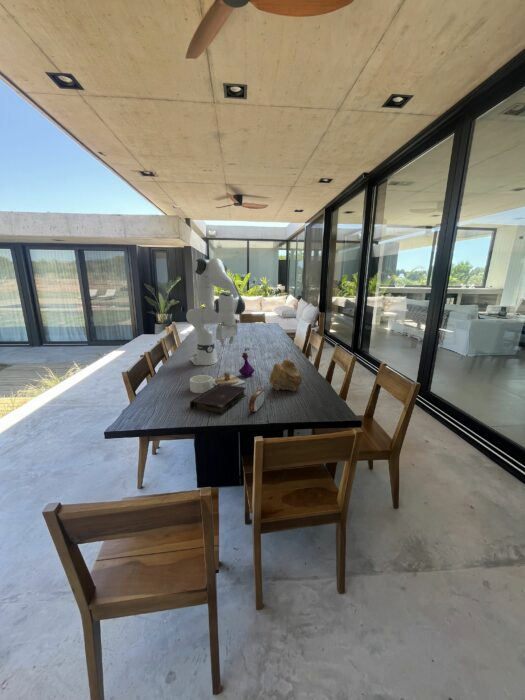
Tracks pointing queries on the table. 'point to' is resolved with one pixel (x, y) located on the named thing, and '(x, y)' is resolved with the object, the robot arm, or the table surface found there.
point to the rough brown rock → (285, 376)
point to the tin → (257, 400)
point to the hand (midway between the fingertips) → (227, 345)
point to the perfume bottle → (246, 366)
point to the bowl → (201, 383)
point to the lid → (227, 379)
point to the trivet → (233, 384)
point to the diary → (218, 399)
